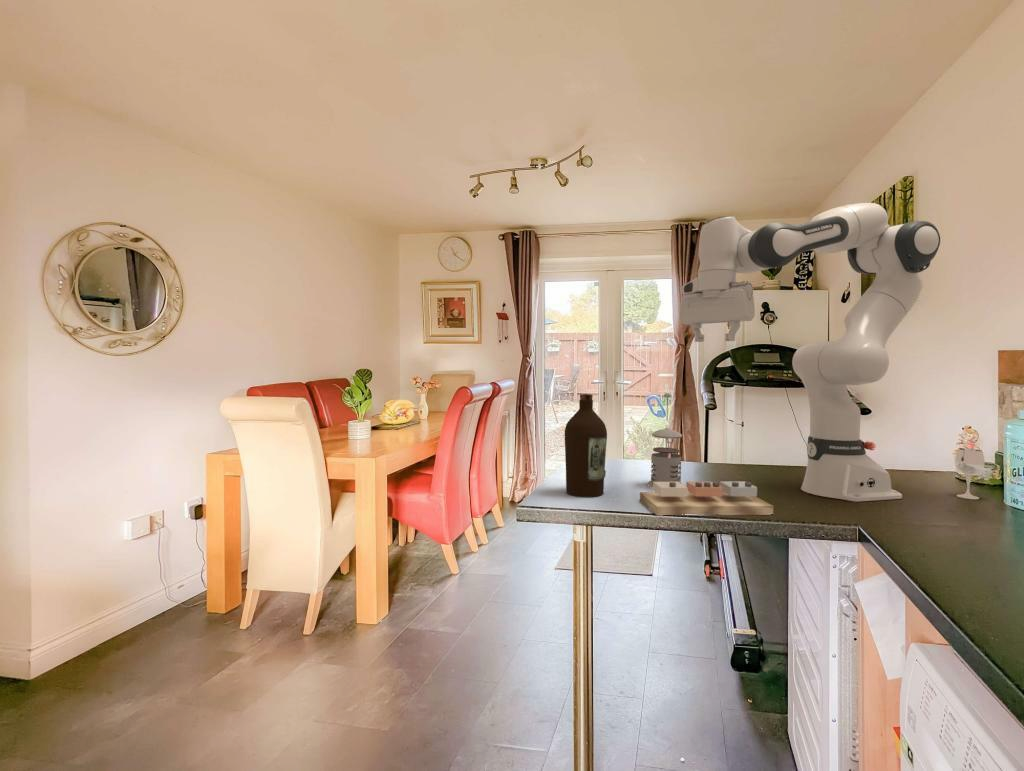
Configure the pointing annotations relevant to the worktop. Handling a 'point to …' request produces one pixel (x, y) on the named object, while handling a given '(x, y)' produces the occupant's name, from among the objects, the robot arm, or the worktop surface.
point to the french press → (666, 457)
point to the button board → (705, 504)
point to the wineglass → (969, 466)
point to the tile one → (670, 489)
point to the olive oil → (585, 451)
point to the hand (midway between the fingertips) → (714, 341)
